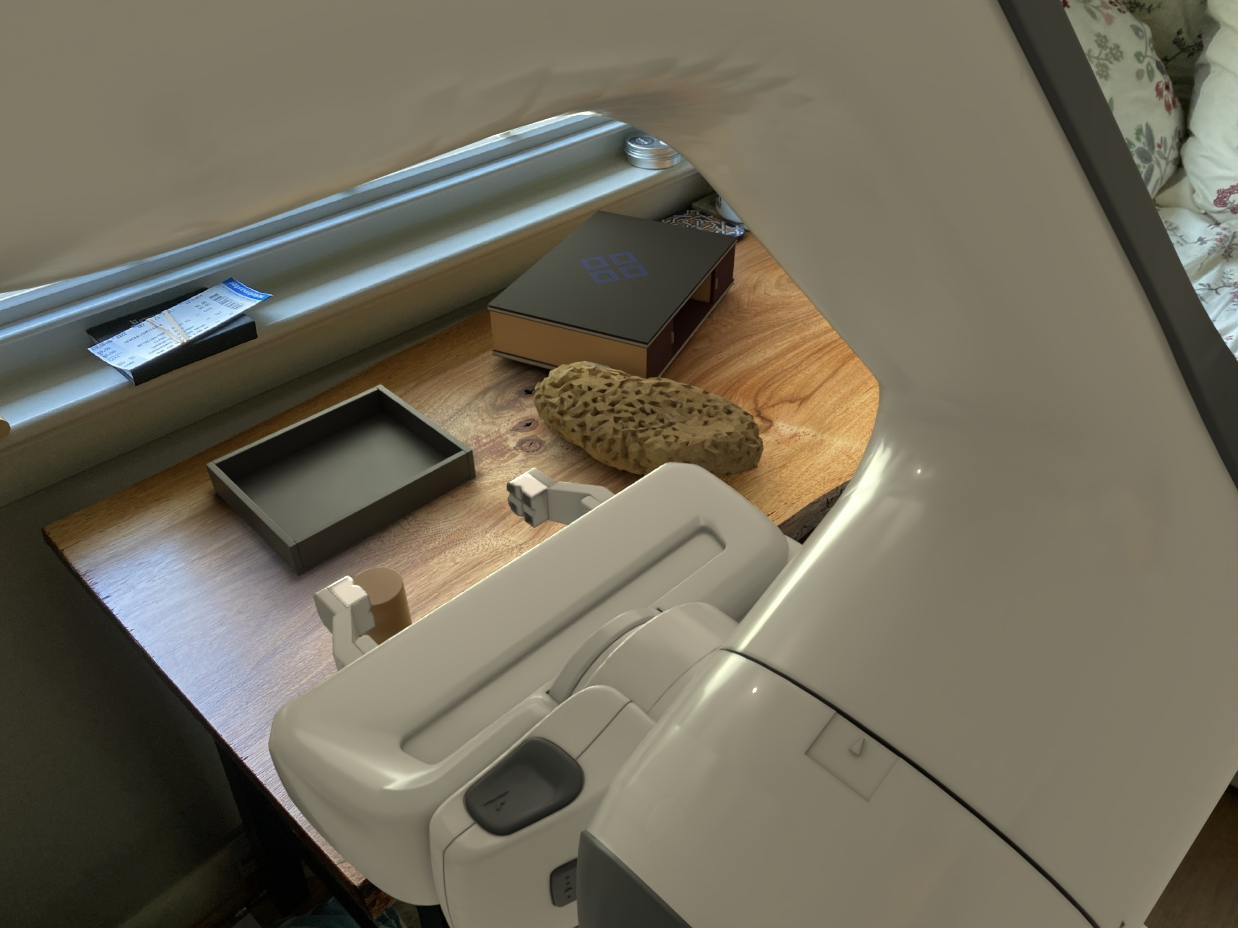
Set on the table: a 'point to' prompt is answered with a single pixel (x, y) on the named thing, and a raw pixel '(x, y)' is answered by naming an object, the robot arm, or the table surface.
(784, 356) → the table surface
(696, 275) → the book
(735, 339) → the table surface
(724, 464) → the sponge
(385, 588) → the tan cylinder
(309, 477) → the pan
